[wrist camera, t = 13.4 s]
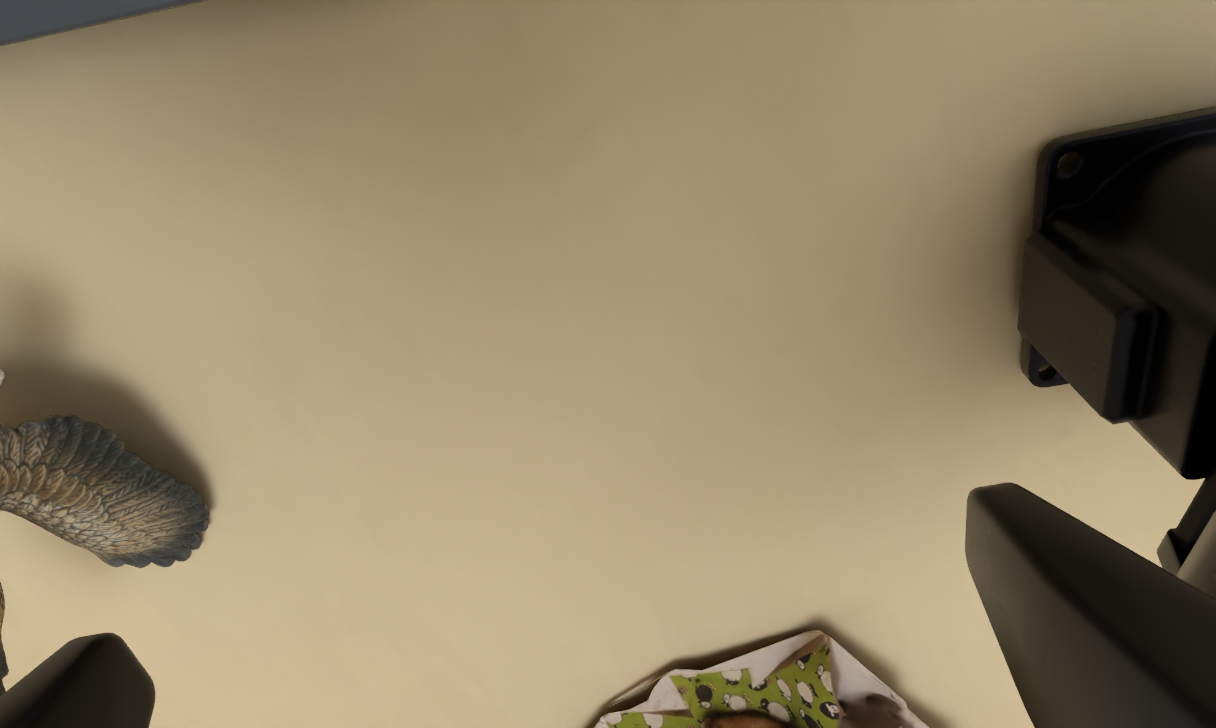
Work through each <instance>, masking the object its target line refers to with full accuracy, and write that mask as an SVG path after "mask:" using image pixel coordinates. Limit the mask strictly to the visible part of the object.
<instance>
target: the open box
mask: <svg viewBox="0 0 1216 728" xmlns="http://www.w3.org/2000/svg"><path fill="white" fill-rule="evenodd" d="M202 1H207V0H0V46H4V45H9V44H13V43H18V42H22V41H27V40H31V39H36V38H40V37H45V36H49V35H54V34H58V33H63V32H67V31H72V30H76V29H81V28H85V27H90V26H94V25H99V24H103V23H108V22H112V21H117V20H121V19H126V18H130V17H135V16H139V15H144V14H148V13H153V12H157V11H162V10H166V9H171V8H175V7H180V6H184V5H189V4H193V3H198V2H202Z"/></svg>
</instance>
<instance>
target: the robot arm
mask: <svg viewBox="0 0 1216 728" xmlns="http://www.w3.org/2000/svg"><path fill="white" fill-rule="evenodd" d="M1070 152H1071V154H1072V157H1071V160H1070V162H1069V163H1068V164H1067V165H1066V166H1065V167H1063V168H1061V169H1058V167H1057V165H1058V163H1059V160H1060V159H1061V158H1062V157H1063V156H1064V155H1065V154H1068V153H1070ZM1018 330H1019V332H1020V333H1021V334H1022V335H1023V336H1024V340H1023V353H1022V366H1021V367H1022V372H1023V374H1024V375H1025V376H1026V377H1027V378H1028V379H1029V381H1030V382H1031V383H1032V384H1033V385H1035V386H1037V387H1051V386H1057V385H1063V384H1070V385H1071V386H1072V387H1073V388H1074V389H1075V390H1076V391H1077V392H1078V393H1079V394H1080V395H1081V396H1082V397H1083V398H1084V399H1085V400H1086V402H1087V403H1088V404H1089V405H1090V406H1091V407H1092V408H1093V409H1094V410H1095V411H1096V412H1097V413H1098V414H1099V415H1100V416H1101V417H1103V418H1104V419H1106V420H1107V421H1108V422H1110V423H1112V424H1118V423H1124V422H1128V423H1129V424H1130V425H1131V426H1132V427H1133V428H1134V429H1135V430H1136V431H1137V432H1138V433H1139V434H1140V435H1141V436H1142V437H1143V438H1144V439H1145V440H1146V441H1147V442H1148V443H1149V444H1150V445H1151V446H1152V447H1153V448H1154V449H1155V450H1156V451H1157V452H1158V453H1159V454H1160V455H1161V456H1162V457H1163V458H1164V459H1165V460H1166V461H1167V462H1168V463H1169V464H1170V465H1171V466H1172V467H1173V468H1174V469H1175V470H1176V471H1177V472H1178V473H1179V474H1180V475H1181V476H1183V477H1184V478H1185V479H1190V480H1196V479H1202V478H1205V480H1204V482H1203V483H1202V485H1201V487H1200V489H1199V490H1198V492H1197V494H1196V495H1195V497H1194V499H1193V501H1192V502H1191V504H1190V506H1189V507H1188V509H1187V511H1186V513H1185V514H1184V516H1183V518H1182V519H1181V521H1180V523H1179V525H1178V526H1177V528H1174V529H1170V530H1168V532H1167V533H1166V535H1165V537H1164V539H1163V540H1162V542H1161V544H1160V545H1159V547H1158V549H1157V554H1158V557H1159V560H1160V562H1161V565H1162V568H1161V567H1159V566H1157V565H1156V564H1154V563H1152V562H1151V561H1149V560H1147V559H1145V558H1144V557H1142V556H1140V555H1138V554H1137V553H1135V552H1133V551H1132V550H1130V549H1128V548H1126V547H1125V546H1123V545H1121V544H1119V543H1118V542H1116V541H1114V540H1113V539H1111V538H1109V537H1107V536H1106V535H1104V534H1102V533H1100V532H1099V531H1097V530H1095V529H1094V528H1092V527H1090V526H1088V525H1087V524H1085V523H1083V522H1081V521H1080V520H1078V519H1076V518H1075V517H1073V516H1071V515H1069V514H1068V513H1066V512H1064V511H1063V510H1061V509H1059V508H1057V507H1056V506H1054V505H1052V504H1050V503H1049V502H1047V501H1045V500H1044V499H1042V498H1040V497H1038V496H1037V495H1035V494H1033V493H1031V492H1030V491H1028V490H1026V489H1025V488H1023V487H1021V486H1019V485H1017V484H1014V483H1001V484H995V485H989V486H983V487H977V488H975V489H973V490H972V491H971V492H970V493H969V496H968V499H967V516H966V540H965V552H966V559H967V564H968V567H969V570H970V573H971V576H972V578H973V581H974V583H975V586H976V588H977V590H978V593H979V595H980V598H981V600H982V603H983V605H984V608H985V610H986V613H987V615H988V618H989V620H990V623H991V625H992V628H993V630H994V633H995V635H996V637H997V640H998V642H999V645H1000V647H1001V650H1002V652H1003V655H1004V657H1005V660H1006V662H1007V665H1008V667H1009V670H1010V672H1011V675H1012V677H1013V680H1014V682H1015V685H1016V687H1017V689H1018V692H1019V694H1020V696H1021V699H1022V701H1023V703H1024V706H1025V708H1026V710H1027V713H1028V715H1029V717H1030V719H1031V721H1032V723H1033V725H1034V727H1035V728H1216V107H1211V108H1206V109H1201V110H1196V111H1191V112H1186V113H1181V114H1176V115H1170V116H1165V117H1160V118H1155V119H1150V120H1145V121H1140V122H1134V123H1129V124H1124V125H1119V126H1114V127H1109V128H1104V129H1098V130H1093V131H1088V132H1083V133H1078V134H1073V135H1068V136H1062V137H1060V138H1057V139H1054V140H1053V141H1051V142H1050V143H1049V144H1047V145H1046V146H1045V148H1044V149H1043V150H1042V152H1041V153H1040V156H1039V159H1038V164H1037V176H1036V189H1035V202H1034V214H1033V227H1032V232H1031V233H1030V234H1029V235H1028V237H1027V238H1026V240H1025V241H1024V247H1023V260H1022V274H1021V287H1020V301H1019V314H1018ZM1047 363H1050V366H1049V367H1048V368H1046V369H1045V370H1043V371H1039V370H1040V368H1041V367H1042V366H1043V365H1044V364H1047ZM154 703H155V688H154V684H153V681H152V679H151V677H150V676H149V674H148V673H147V672H146V670H145V669H144V667H143V666H142V665H141V663H140V662H139V661H138V659H137V658H136V657H135V655H134V654H133V653H132V651H131V650H130V648H129V647H128V646H127V644H126V643H125V642H124V640H123V639H122V638H121V637H119V636H118V635H116V634H114V633H102V634H96V635H90V636H84V637H79V638H76V639H73V640H71V641H69V642H68V643H67V644H65V645H64V646H63V647H61V648H60V649H59V650H58V651H56V652H55V653H54V654H53V655H51V656H50V657H49V658H48V659H46V660H45V661H44V662H43V663H41V664H40V665H39V666H38V667H36V668H35V669H34V670H33V671H31V672H30V673H29V674H28V675H26V676H25V677H24V678H23V679H21V680H20V681H19V682H18V683H17V684H15V685H14V686H13V687H12V688H10V689H9V690H8V691H7V692H5V693H4V694H3V695H2V696H0V728H149V724H150V720H151V716H152V712H153V708H154Z"/></svg>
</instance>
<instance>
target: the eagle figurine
mask: <svg viewBox="0 0 1216 728" xmlns="http://www.w3.org/2000/svg"><path fill="white" fill-rule="evenodd" d="M3 379H4V372H3V371H2V370H1V369H0V386H1V384H2V381H3ZM124 447H125V444H124V442H123V441H122V440H119V439H118V438H116V434H115V432H114V431H113V430H110V429H105V428H103V427H102V426H101V425H99V424H96V423H91V422H84V421H83V420H81V419H80V418H78V417H77V416H75V415H70V414H69V415H67V416H64V417H62V416H59V415H50V416H49V417H48V418H46V419H45V420H44V421H42V422H34V421H27V422H23V423H21V424H20V425H19V426H18V427H17V428H15V429H13V428H11V427H9V426H6V425H4V424H0V510H3V511H8V512H11V513H13V514H15V515H17V516H20V517H22V518H24V519H26V520H28V521H30V522H32V523H34V524H36V525H38V526H40V527H42V528H44V529H46V530H48V531H49V532H51V533H53V534H55V535H56V536H58V537H60V538H62V539H64V540H66V541H68V542H70V543H72V544H75V545H77V546H80V547H82V548H86V549H88V550H89V551H91V552H93V553H94V554H95V555H96V556H97V557H99V558H100V559H101V560H102V561H104V562H105V563H107V564H108V565H111V566H114V567H119V566H122V565H124V564H128V565H132V566H135V567H138V568H143V567H145V566H147V565H149V564H150V563H151V562H152V563H154V564H156V565H158V566H162V567H169V566H171V565H172V564H173V562H174V561H175V560H177V561H186V560H187V559H188V558H189V557H190V552H189V551H190V549H191V550H195V549H198V548H199V547H200V546H201V539H200V536H199V535H198V534H197V533H196V532H202V531H205V530H206V529H207V528H208V525H207V524H206V523H205V521H204V519H207V518H208V517H209V515H210V511H209V510H208V508H207V505H206V503H205V502H203V501H201V499H202V496H201V494H199V493H198V492H196V491H193V490H192V486H191V485H190V484H188V483H186V482H181V483H177V482H175V480H174V478H172V477H171V476H169V475H168V474H167V472H165V471H162V470H151V466H150V465H149V464H148V463H147V462H146V461H141V460H140V458H139V456H138V455H136V454H135V453H132V452H126V451H125V450H124ZM4 611H5V600H4V595H3V589H2V586H1V583H0V696H2V695H3V694H4V693H5V692H6V691H5V688H4V686H3V682H2V679H3V678H4V677H5V676H6V675H7V674H8V672H9V670H8V666H7V663H6V657H5V653H4V650H3V645H2V641H1V629H2V623H3V618H4Z"/></svg>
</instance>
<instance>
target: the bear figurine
mask: <svg viewBox="0 0 1216 728" xmlns="http://www.w3.org/2000/svg"><path fill="white" fill-rule="evenodd" d="M668 673H669V674H668ZM666 674H667V675H666ZM664 675H665V676H664ZM664 675H662V676H660V677H659V678H661V677H662V678H661V680H660V681H659V682H658V683H657V685H656V686H655V687H654V689H653V691H652V693H651V695H650V696H649V698H648V700H647V701H646V702H644V703H642V704H640V705H638V706H636V707H634V708H631V709H629V710H625V711H619V712H614V713H613V714H612V713H608V714H606V715H604V716H603V717H600V720H599V722H598V723H597V724H596V726H595V727H594V728H929V727H928V726H927V725H926V724H925V723H924V722H923V721H922V720H920V719H919V718H918V717H917V716H916V715H914V714H913V713H912V712H911V711H910V710H909V709H908V708H907V706H906V704H907V702H905V701H904V700H903V699H902V698H901V697H900V696H898V695H897V694H896V693H895V692H894V691H893V690H892V689H890V688H889V687H888V686H887V685H886V684H885V683H883V682H882V681H881V680H880V679H879V678H878V677H876V676H875V675H874V674H873V673H872V672H871V671H869V670H868V669H867V668H866V667H865V666H864V665H863V664H861V663H860V662H859V661H858V660H857V659H856V658H854V657H853V656H852V655H851V654H850V653H849V652H847V651H846V650H845V649H844V648H843V647H842V646H840V645H839V644H838V643H837V642H836V641H835V640H833V639H832V638H831V637H829V636H828V635H826V634H824V633H823V632H821V631H820V630H816V631H810V632H804V633H802V634H800V635H797V636H794V637H791V638H789V639H786V640H783V641H781V642H778V643H775V644H772V645H770V646H767V647H764V648H762V649H759V650H756V651H753V652H751V653H748V654H745V655H742V656H740V657H737V658H734V659H732V660H729V661H726V662H723V663H721V664H718V665H715V666H713V667H710V668H707V669H704V670H686V669H675V670H672V672H671V671H670V672H667V673H665V674H664ZM663 676H664V677H663ZM659 678H657V679H659ZM657 679H656V680H657ZM654 681H655V680H654ZM654 681H652V682H654ZM652 682H651V683H652ZM649 684H650V683H649ZM647 685H648V684H647ZM647 685H646V686H647ZM644 687H645V686H644ZM642 688H643V687H642ZM639 690H640V689H639ZM637 691H638V690H637ZM632 694H633V693H632ZM627 697H628V696H627ZM625 698H626V697H625ZM622 700H623V699H622ZM620 701H621V700H620ZM620 701H618V702H620ZM618 702H617V703H618ZM615 704H616V703H615ZM615 704H613V705H615ZM613 705H611V706H613ZM611 706H610V707H611ZM610 707H608V708H610Z"/></svg>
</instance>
